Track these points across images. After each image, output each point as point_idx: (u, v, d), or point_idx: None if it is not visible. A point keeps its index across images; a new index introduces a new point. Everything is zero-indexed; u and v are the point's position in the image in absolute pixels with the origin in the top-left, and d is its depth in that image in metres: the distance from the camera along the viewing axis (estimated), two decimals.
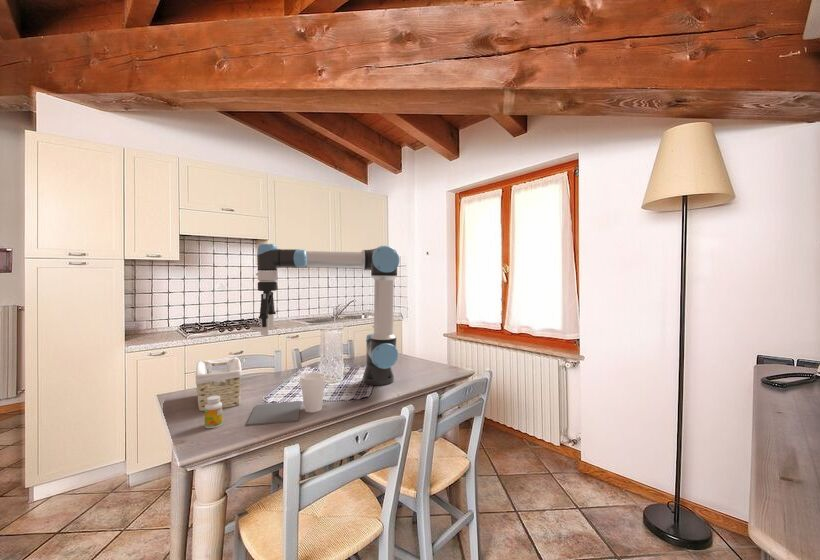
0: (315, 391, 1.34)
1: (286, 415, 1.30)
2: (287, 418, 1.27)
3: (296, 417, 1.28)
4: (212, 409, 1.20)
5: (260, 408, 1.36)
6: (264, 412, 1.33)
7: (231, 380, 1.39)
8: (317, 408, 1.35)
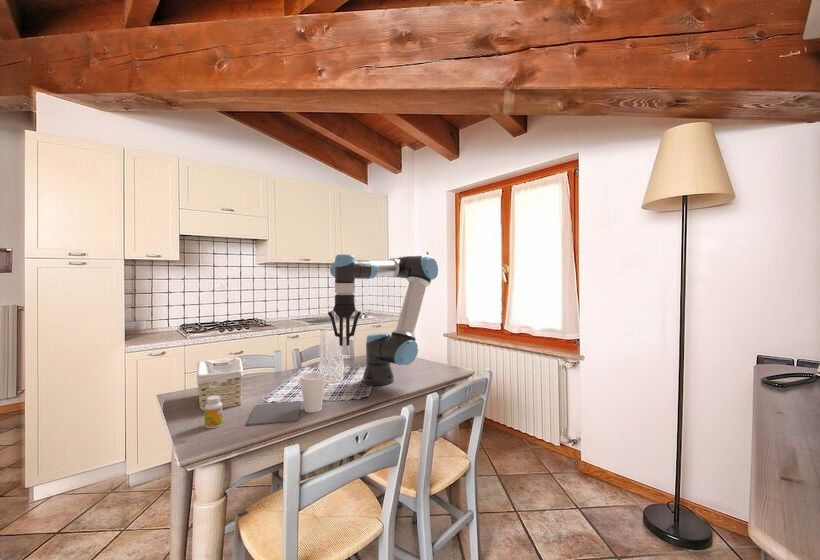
0: (315, 391, 1.34)
1: (286, 415, 1.30)
2: (287, 418, 1.27)
3: (296, 417, 1.28)
4: (212, 409, 1.20)
5: (260, 408, 1.36)
6: (264, 412, 1.33)
7: (232, 380, 1.39)
8: (317, 408, 1.35)
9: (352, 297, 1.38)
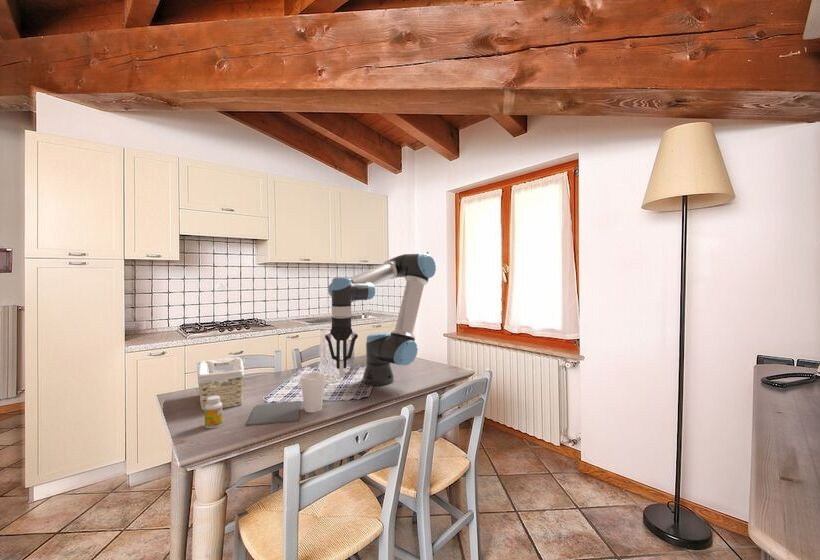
0: (315, 391, 1.34)
1: (286, 415, 1.30)
2: (287, 418, 1.27)
3: (296, 417, 1.28)
4: (212, 409, 1.20)
5: (260, 408, 1.36)
6: (264, 412, 1.33)
7: (233, 380, 1.39)
8: (317, 408, 1.35)
9: (349, 320, 1.38)
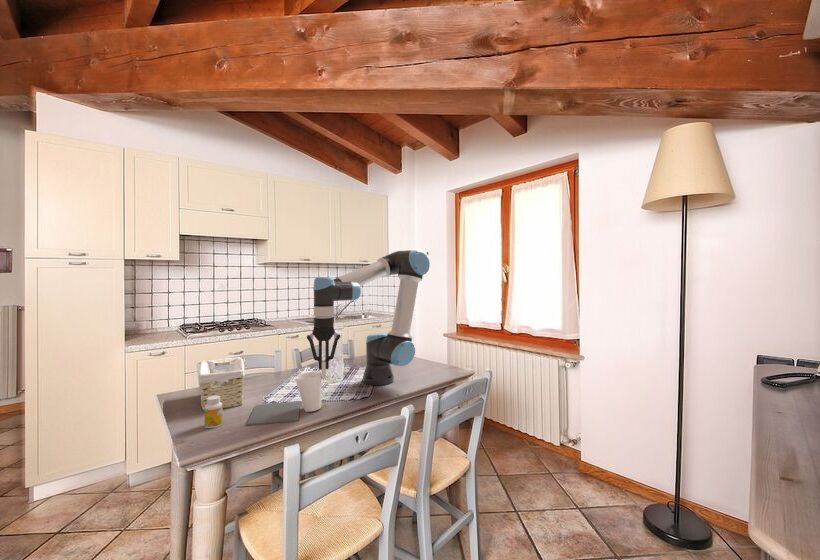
0: (312, 390, 1.33)
1: (286, 415, 1.30)
2: (287, 418, 1.27)
3: (296, 417, 1.28)
4: (212, 409, 1.20)
5: (260, 408, 1.36)
6: (264, 412, 1.33)
7: (234, 380, 1.39)
8: (316, 406, 1.35)
9: (331, 321, 1.36)
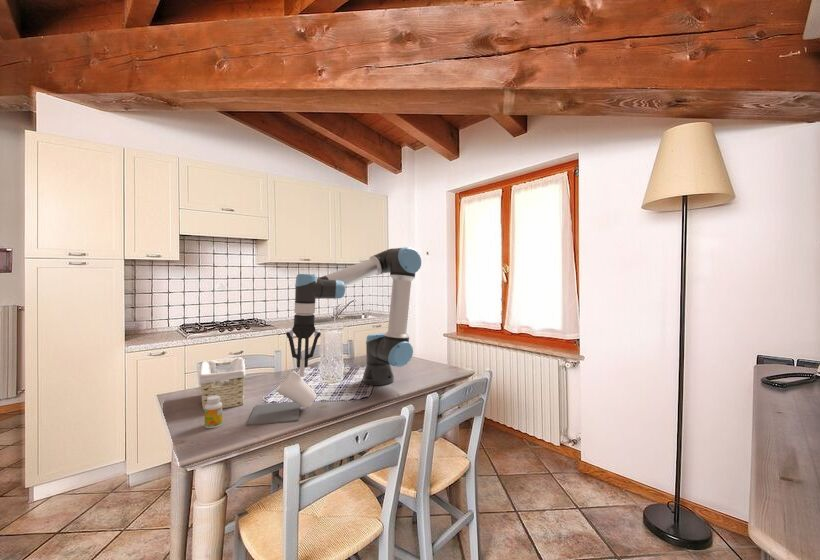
0: (295, 389, 1.32)
1: (286, 415, 1.30)
2: (287, 418, 1.27)
3: (296, 417, 1.28)
4: (212, 409, 1.20)
5: (260, 408, 1.36)
6: (264, 412, 1.33)
7: (235, 380, 1.39)
8: (311, 398, 1.34)
9: (312, 318, 1.34)
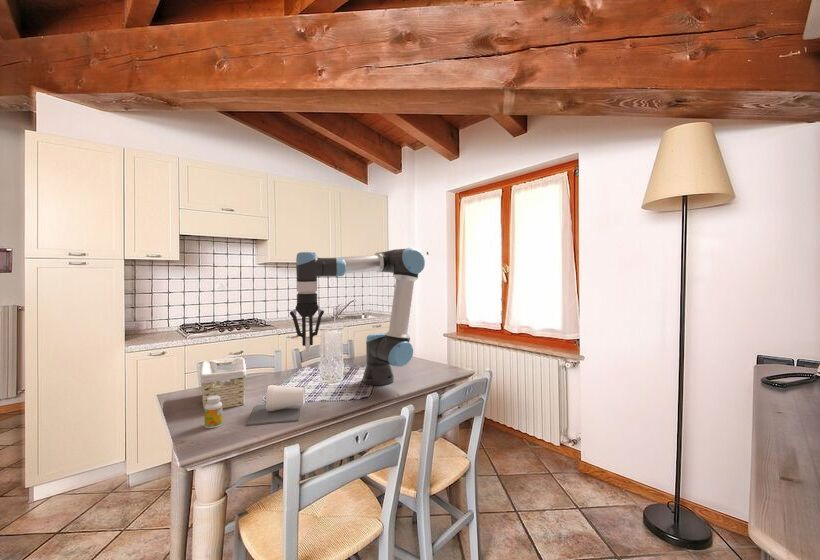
0: (280, 398, 1.31)
1: (286, 415, 1.30)
2: (287, 418, 1.27)
3: (296, 417, 1.28)
4: (212, 409, 1.20)
5: (260, 408, 1.36)
6: (264, 412, 1.33)
7: (235, 380, 1.39)
8: (300, 394, 1.34)
9: (314, 296, 1.34)
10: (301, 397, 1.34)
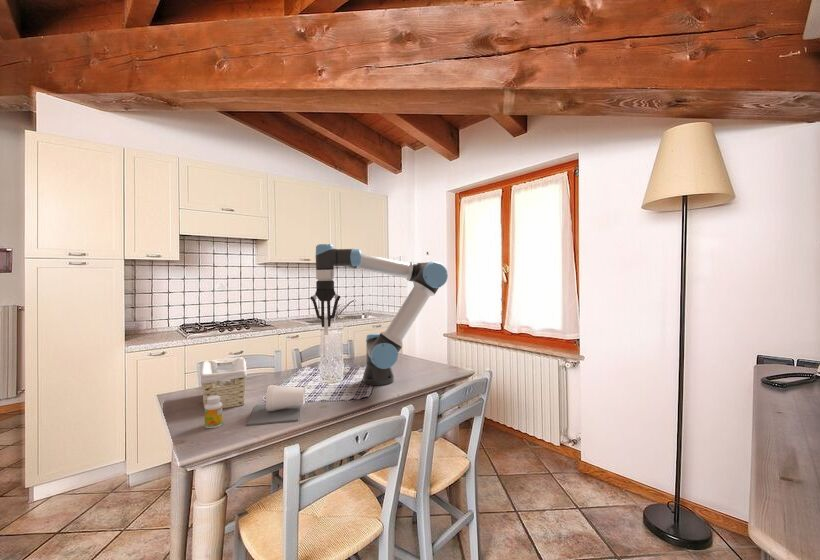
0: (280, 398, 1.31)
1: (286, 415, 1.30)
2: (287, 418, 1.27)
3: (296, 417, 1.28)
4: (212, 409, 1.20)
5: (260, 408, 1.36)
6: (264, 412, 1.33)
7: (236, 380, 1.39)
8: (300, 394, 1.34)
9: (332, 283, 1.52)
10: (301, 397, 1.34)
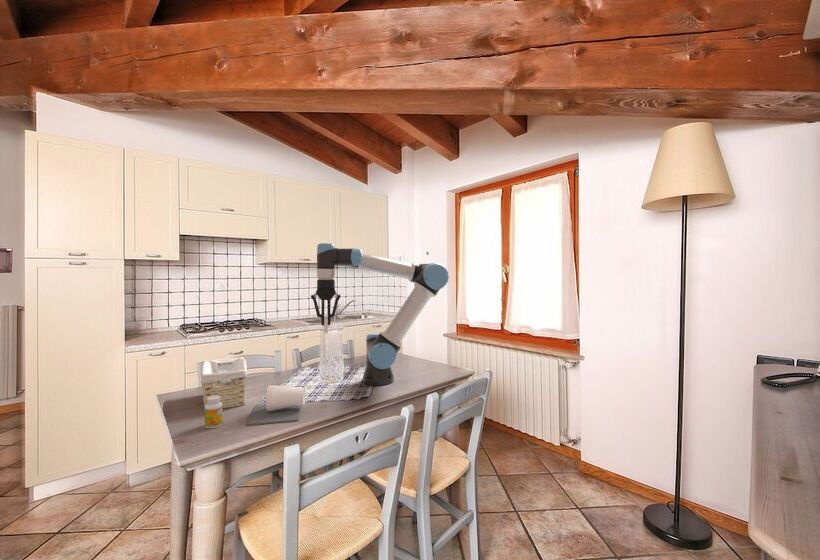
0: (280, 398, 1.31)
1: (286, 415, 1.30)
2: (287, 418, 1.27)
3: (296, 417, 1.28)
4: (212, 409, 1.20)
5: (260, 408, 1.36)
6: (264, 412, 1.33)
7: (236, 380, 1.39)
8: (300, 394, 1.34)
9: (332, 282, 1.54)
10: (301, 397, 1.34)
